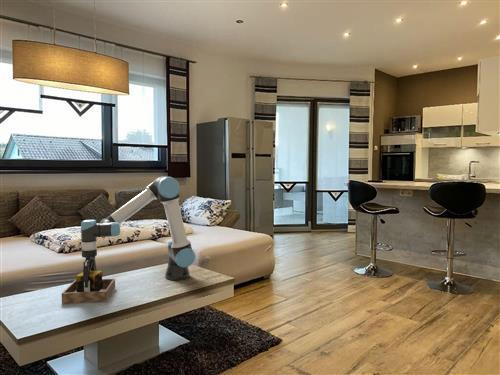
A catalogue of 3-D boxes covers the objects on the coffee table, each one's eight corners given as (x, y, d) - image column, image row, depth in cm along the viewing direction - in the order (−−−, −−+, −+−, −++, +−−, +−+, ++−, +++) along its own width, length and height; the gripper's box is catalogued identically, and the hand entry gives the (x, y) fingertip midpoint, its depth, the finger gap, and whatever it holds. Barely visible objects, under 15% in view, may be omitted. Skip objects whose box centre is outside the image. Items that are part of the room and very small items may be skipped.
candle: (103, 288, 206) (103, 270, 206) (94, 294, 196) (94, 276, 196) (85, 287, 207) (85, 270, 206) (76, 294, 197) (75, 275, 196)
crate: (115, 288, 214) (115, 278, 214) (106, 302, 193) (106, 291, 192) (75, 289, 211) (75, 280, 210) (61, 304, 189) (61, 293, 189)
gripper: (87, 244, 211) (88, 282, 212) (74, 254, 188) (76, 297, 189) (101, 244, 212) (102, 282, 214) (90, 254, 189) (91, 296, 191)
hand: (90, 289), depth 202 cm, fingers closed on candle, 11 cm apart
